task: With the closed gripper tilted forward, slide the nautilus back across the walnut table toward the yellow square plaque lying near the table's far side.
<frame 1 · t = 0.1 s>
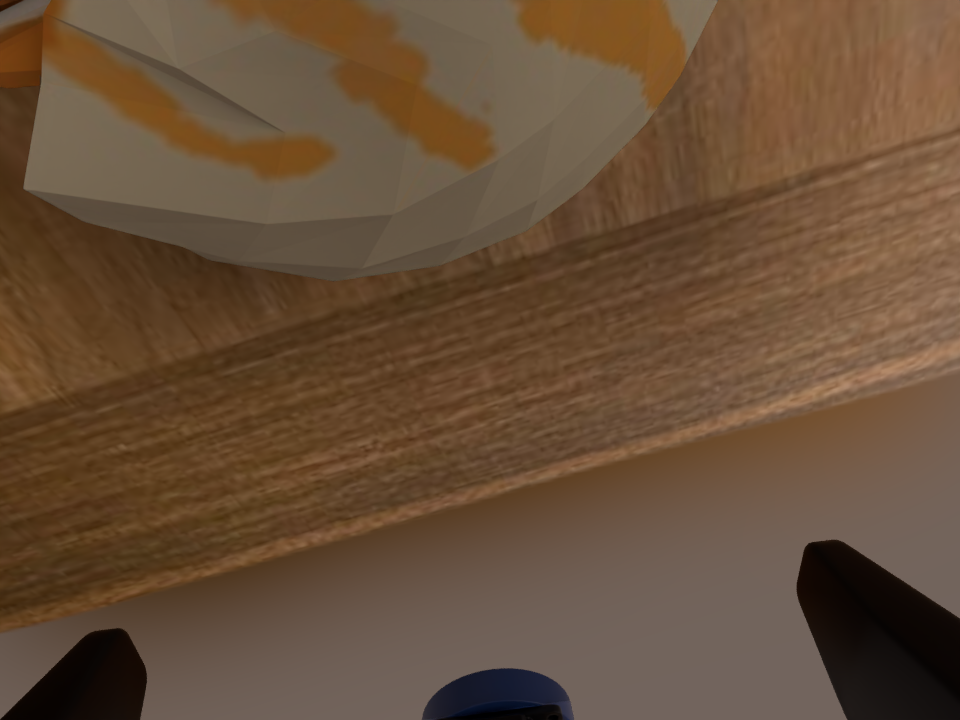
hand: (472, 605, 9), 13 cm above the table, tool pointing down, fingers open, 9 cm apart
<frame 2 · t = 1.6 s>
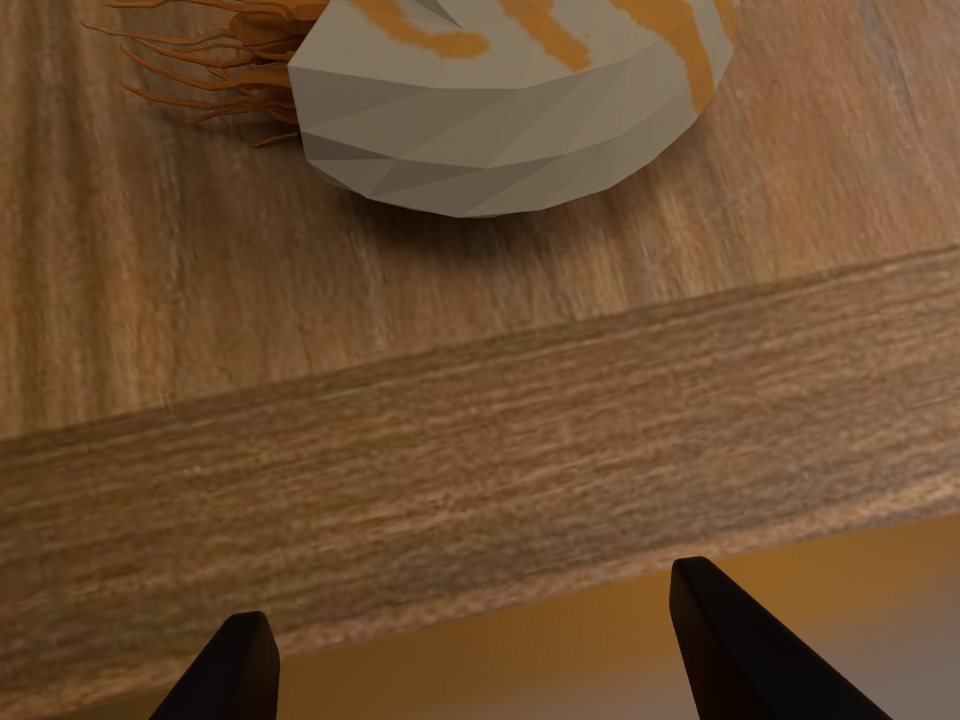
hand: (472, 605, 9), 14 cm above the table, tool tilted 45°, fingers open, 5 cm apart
nautilus: (421, 87, 27), on the table
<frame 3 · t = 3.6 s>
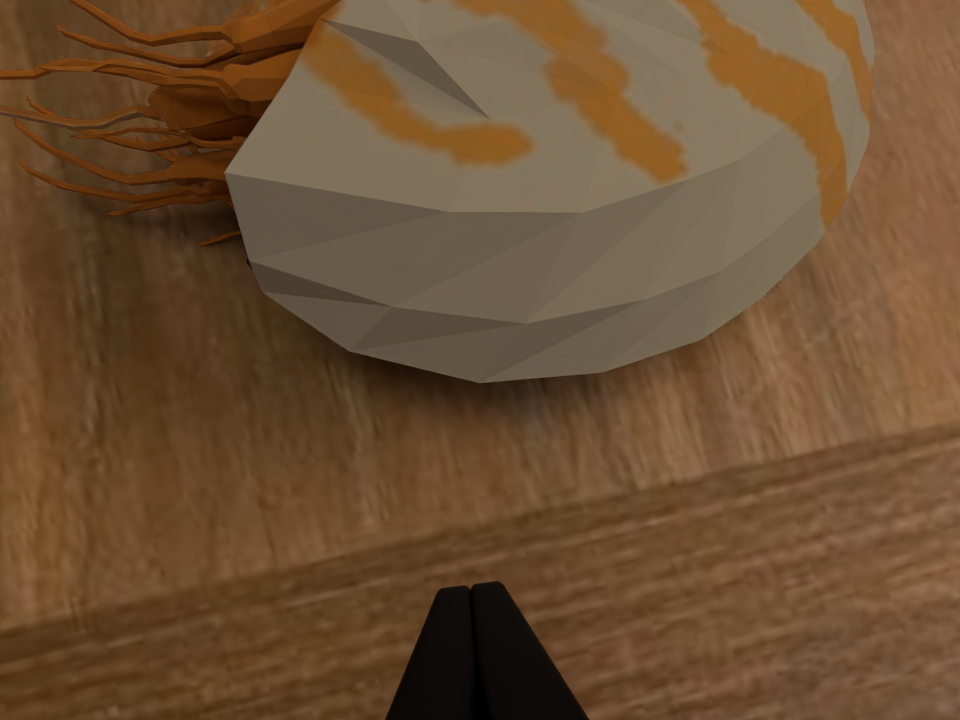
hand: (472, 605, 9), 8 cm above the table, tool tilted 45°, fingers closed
nautilus: (425, 162, 20), on the table
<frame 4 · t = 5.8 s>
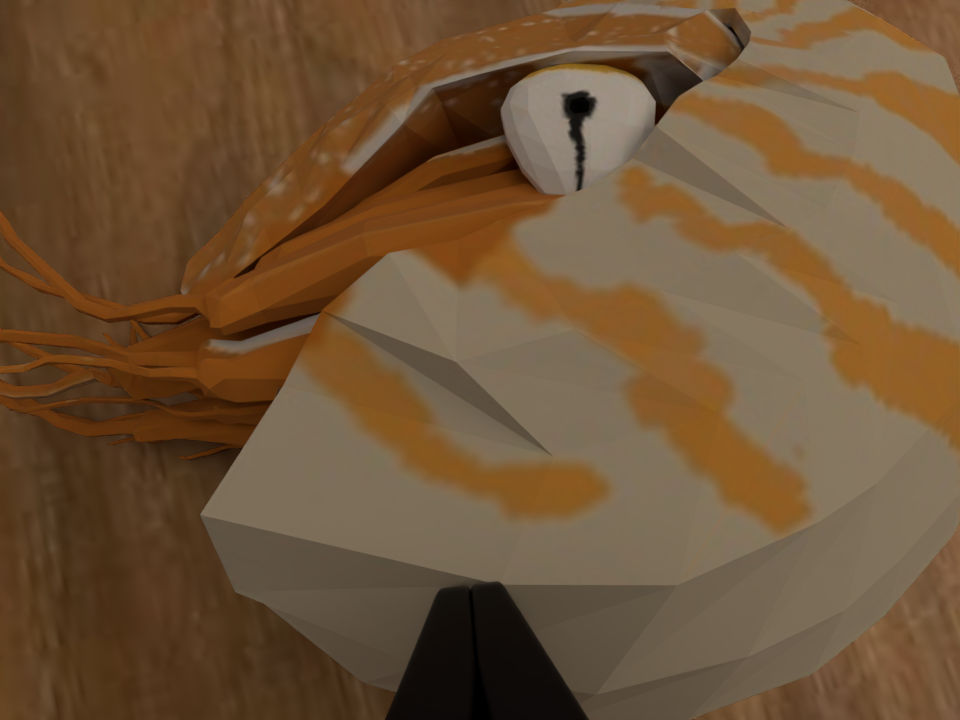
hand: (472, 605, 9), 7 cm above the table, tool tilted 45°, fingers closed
nautilus: (445, 348, 17), on the table, touching gripper
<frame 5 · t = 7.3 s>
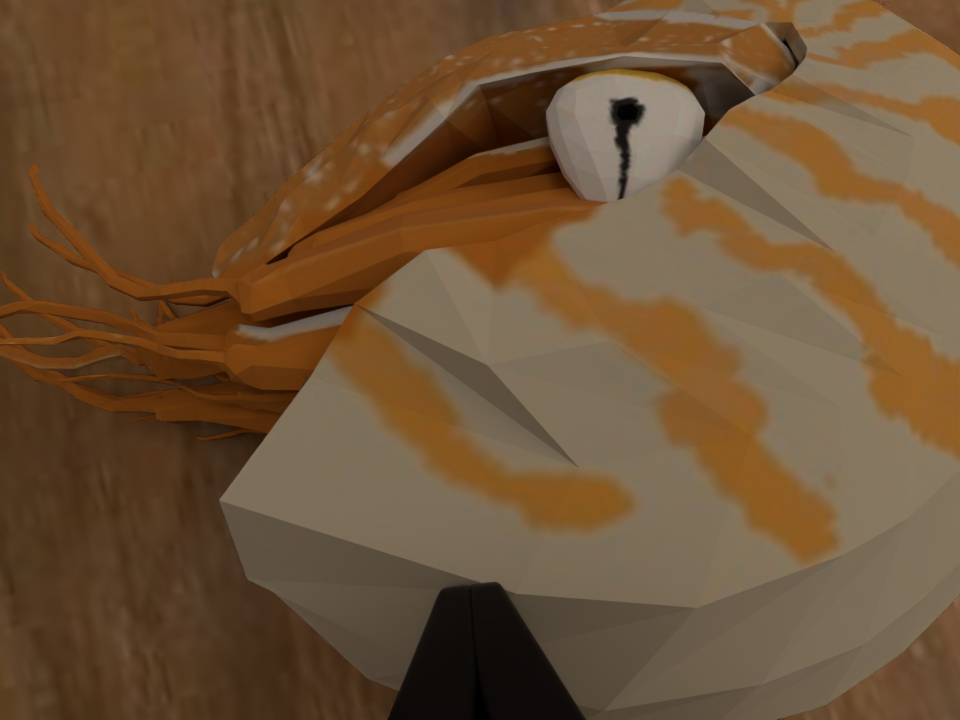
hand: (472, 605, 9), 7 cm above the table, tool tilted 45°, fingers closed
nautilus: (469, 347, 17), on the table, touching gripper
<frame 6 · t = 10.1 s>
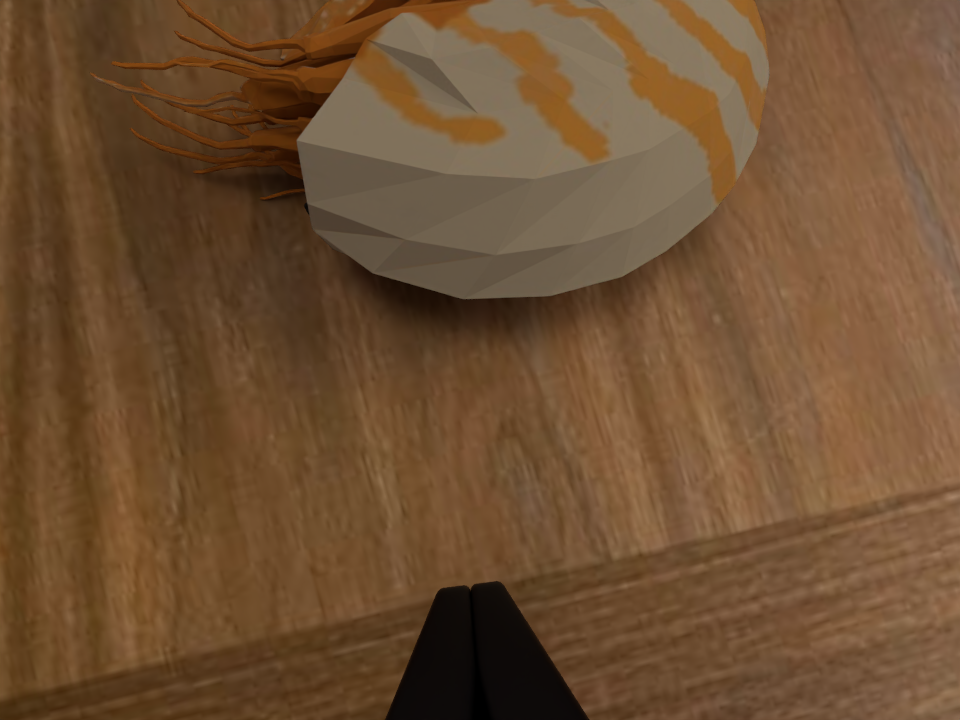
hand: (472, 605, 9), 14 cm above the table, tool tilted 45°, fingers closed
nautilus: (436, 145, 26), on the table
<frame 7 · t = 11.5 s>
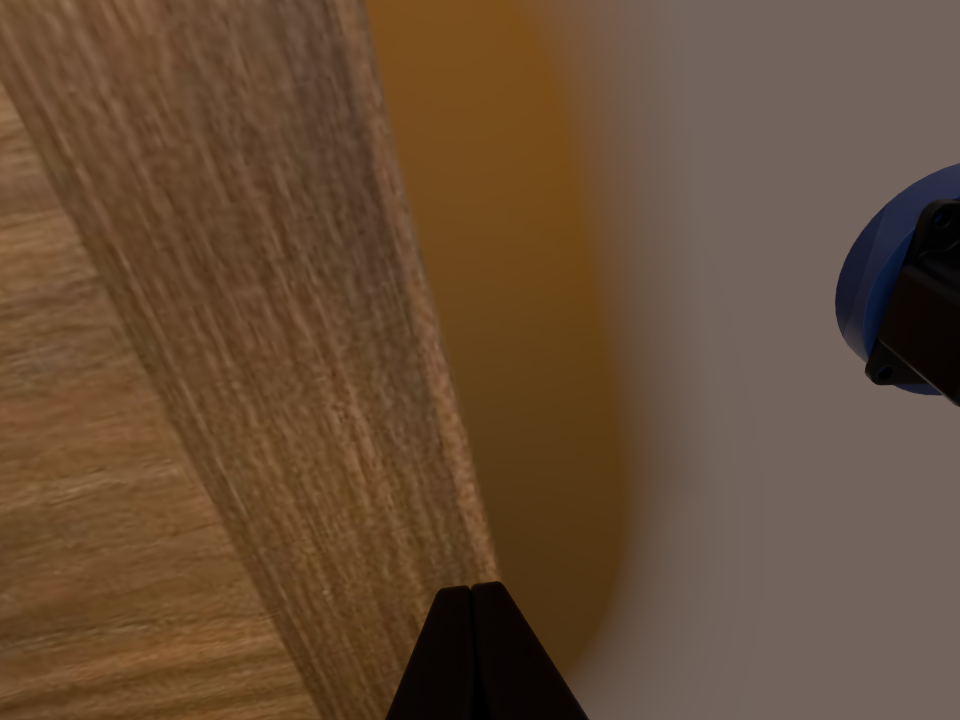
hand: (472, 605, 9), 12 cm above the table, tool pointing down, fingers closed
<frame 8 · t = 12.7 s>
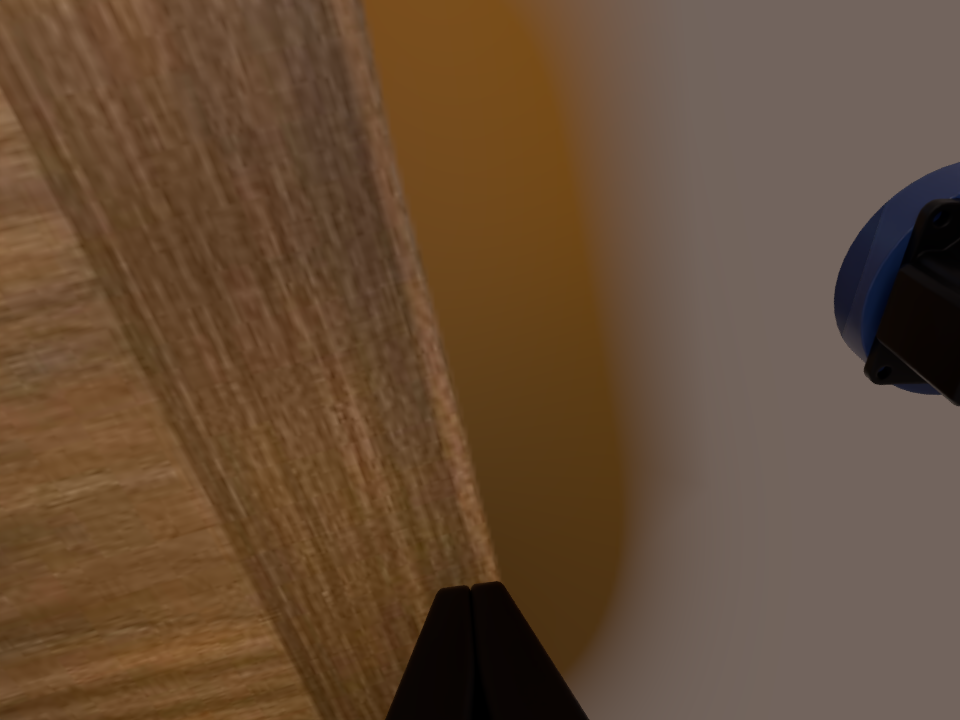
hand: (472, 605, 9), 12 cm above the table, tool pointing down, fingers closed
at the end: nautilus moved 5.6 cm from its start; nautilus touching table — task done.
